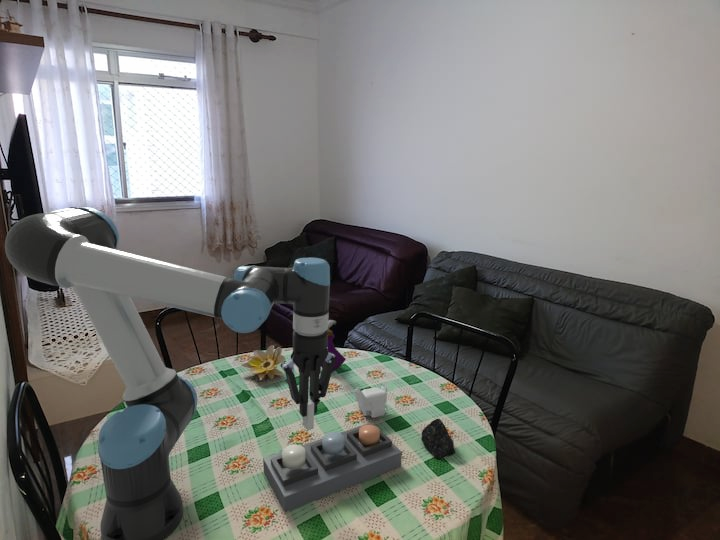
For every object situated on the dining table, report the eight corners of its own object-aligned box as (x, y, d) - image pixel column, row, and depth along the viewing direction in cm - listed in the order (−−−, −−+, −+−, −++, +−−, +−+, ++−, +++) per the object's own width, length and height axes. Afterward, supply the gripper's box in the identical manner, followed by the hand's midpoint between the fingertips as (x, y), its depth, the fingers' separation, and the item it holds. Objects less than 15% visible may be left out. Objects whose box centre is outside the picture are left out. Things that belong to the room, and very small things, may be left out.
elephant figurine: (366, 428, 123) (367, 399, 121) (349, 406, 134) (349, 379, 132) (396, 420, 127) (397, 392, 125) (377, 399, 138) (378, 373, 135)
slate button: (328, 457, 102) (328, 448, 101) (318, 445, 106) (318, 436, 106) (348, 450, 104) (348, 441, 104) (338, 438, 109) (338, 429, 108)
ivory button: (287, 472, 97) (287, 462, 96) (279, 458, 101) (278, 449, 101) (309, 464, 100) (309, 454, 99) (300, 451, 104) (300, 442, 103)
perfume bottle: (333, 375, 152) (333, 326, 148) (316, 369, 156) (316, 321, 152) (346, 367, 158) (346, 320, 154) (329, 361, 162) (329, 315, 158)
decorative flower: (234, 366, 154) (240, 339, 153) (262, 363, 162) (268, 338, 161) (255, 385, 144) (261, 356, 142) (284, 382, 151) (290, 354, 150)
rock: (435, 462, 110) (437, 442, 109) (415, 438, 119) (416, 419, 118) (459, 455, 113) (461, 435, 111) (437, 433, 122) (439, 414, 120)
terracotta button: (365, 448, 107) (365, 439, 106) (354, 437, 111) (355, 428, 111) (383, 442, 110) (383, 433, 109) (372, 431, 114) (372, 422, 113)
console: (285, 512, 94) (284, 490, 92) (263, 472, 105) (262, 452, 104) (401, 466, 108) (401, 446, 107) (371, 435, 120) (371, 417, 119)
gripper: (289, 341, 89) (287, 444, 95) (345, 331, 95) (340, 427, 101) (275, 328, 95) (274, 425, 101) (329, 319, 102) (325, 411, 107)
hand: (307, 426), depth 101 cm, fingers closed
